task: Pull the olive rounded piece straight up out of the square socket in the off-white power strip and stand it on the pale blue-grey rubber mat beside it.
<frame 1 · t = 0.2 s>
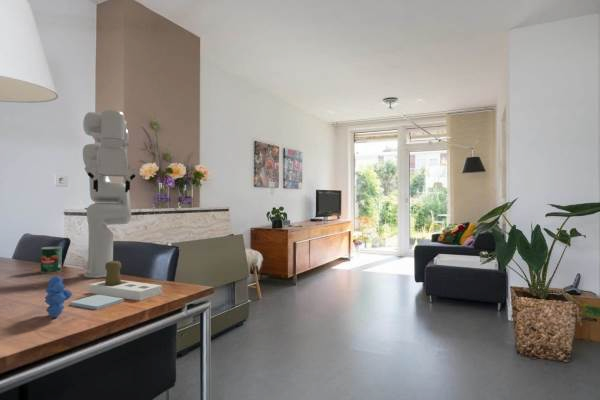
hand: (111, 192, 132), 36 cm above the table, tool pointing down, fingers open, 9 cm apart
grapes: (58, 317, 104), on the table
power strip: (125, 293, 130), on the table
olive rounded piece: (112, 292, 133), resting in power strip
canned tomato: (51, 272, 166), on the table
rubber mat: (97, 303, 118), on the table
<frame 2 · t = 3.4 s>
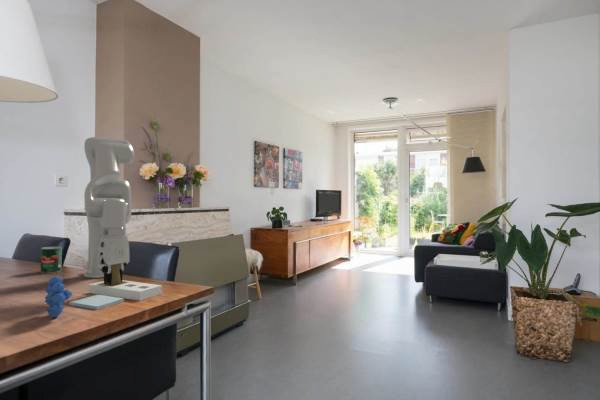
hand: (113, 282, 133), 3 cm above the table, tool pointing down, fingers closed on olive rounded piece, 3 cm apart
olive rounded piece: (112, 292, 132), resting in power strip, touching gripper
everything else where it was.
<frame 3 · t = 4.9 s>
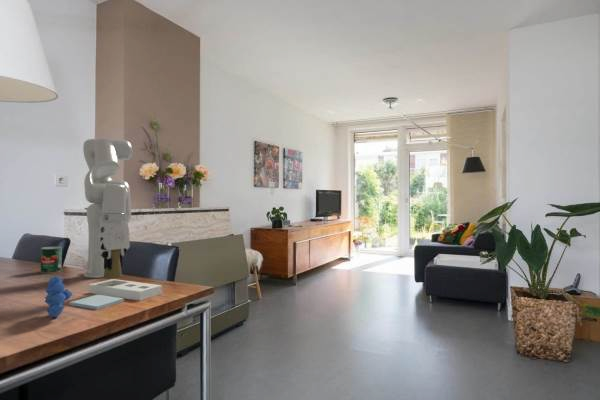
hand: (113, 267, 133), 9 cm above the table, tool pointing down, fingers closed on olive rounded piece, 3 cm apart
olive rounded piece: (112, 277, 133), point 5 cm above the table, touching gripper
everything else where it was.
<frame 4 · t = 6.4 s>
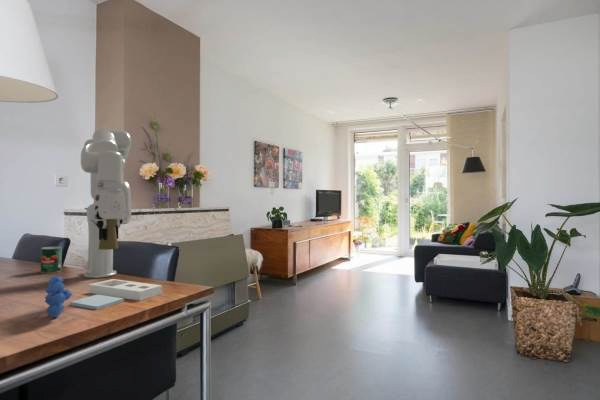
hand: (108, 238, 127), 20 cm above the table, tool pointing down, fingers closed on olive rounded piece, 3 cm apart
olive rounded piece: (108, 249, 127), point 16 cm above the table, touching gripper
everything else where it was.
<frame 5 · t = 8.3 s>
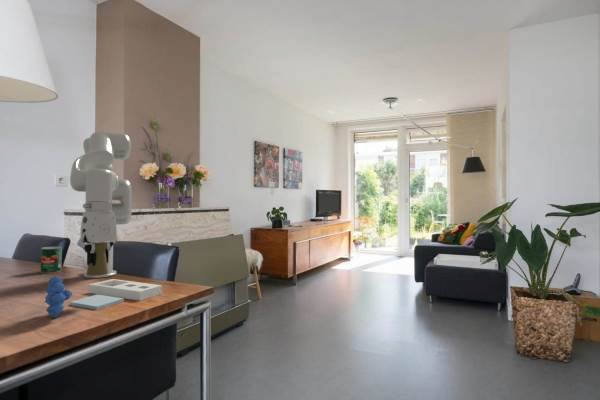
hand: (97, 263, 117), 13 cm above the table, tool pointing down, fingers closed on olive rounded piece, 3 cm apart
olive rounded piece: (97, 274, 117), point 9 cm above the table, touching gripper
everything else where it was.
when the fingers open (6 cm above the table, at t = 9.9 s): olive rounded piece drops 1 cm, resting on rubber mat.
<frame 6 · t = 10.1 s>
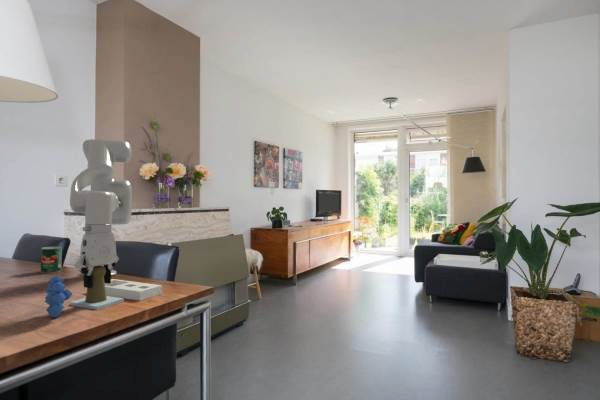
hand: (97, 284, 118), 6 cm above the table, tool pointing down, fingers open, 6 cm apart
olive rounded piece: (96, 300, 117), point 1 cm above the table, touching gripper, rubber mat
everything else where it was.
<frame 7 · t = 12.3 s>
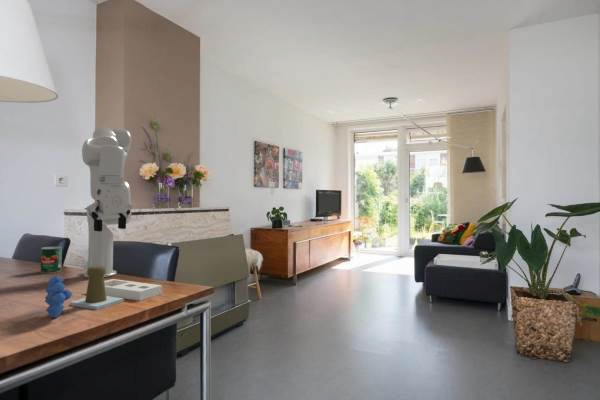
hand: (110, 229, 128), 23 cm above the table, tool pointing down, fingers open, 9 cm apart
olive rounded piece: (96, 301, 117), point 1 cm above the table, touching rubber mat
everything else where it was.
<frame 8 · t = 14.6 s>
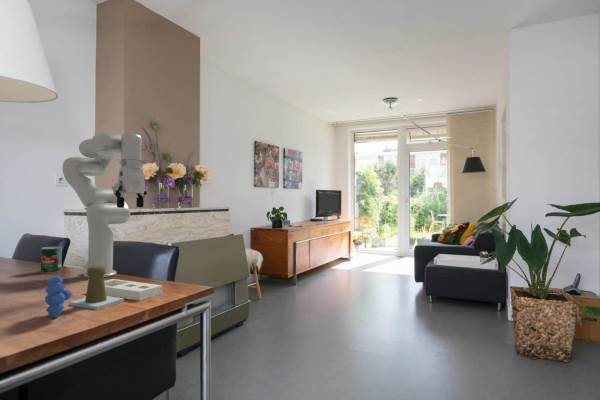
hand: (130, 207, 147), 30 cm above the table, tool pointing down, fingers open, 9 cm apart
nothing on the table moved.
at the end: olive rounded piece inside the target area (0.4 cm from its centre), point 0.8 cm above the table; olive rounded piece tilted 0°; the gripper is holding nothing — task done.
